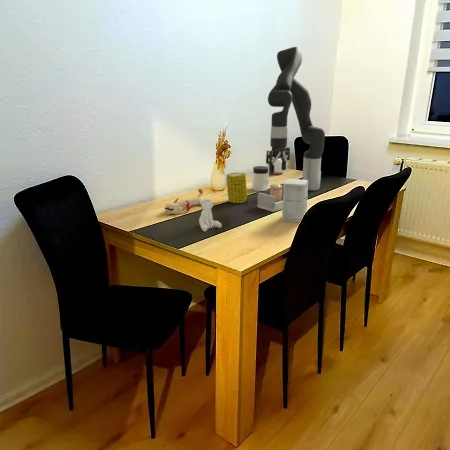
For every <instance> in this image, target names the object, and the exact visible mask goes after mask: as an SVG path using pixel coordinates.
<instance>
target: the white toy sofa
mask: <svg viewBox="0 0 450 450" xmlns="http://www.w3.org/2000/svg"><path fill="white" fill-rule="evenodd" d="M275 202H276V197H275V196H271V195H270V194H267V193H264V192H263V193H262V192H261V191H258V193H257V204H256V205H257V206H256V207H257V208H258V209H259V208H260V209H263V210H267V211H269V212H272V213H274V212H277V211H281V210H283V201H279V202H276V203H275Z"/></svg>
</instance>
